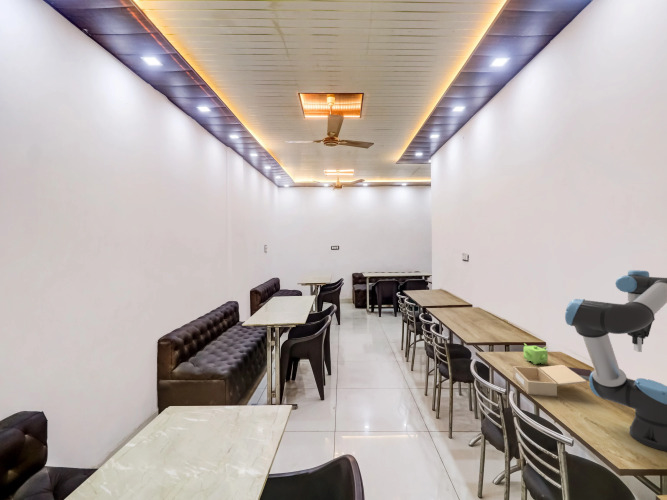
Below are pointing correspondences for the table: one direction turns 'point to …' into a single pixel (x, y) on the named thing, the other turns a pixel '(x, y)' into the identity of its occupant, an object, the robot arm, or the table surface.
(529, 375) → the open box
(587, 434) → the table surface
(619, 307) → the robot arm
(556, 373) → the lid
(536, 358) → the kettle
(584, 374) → the book
